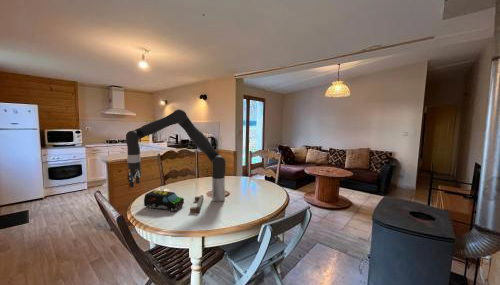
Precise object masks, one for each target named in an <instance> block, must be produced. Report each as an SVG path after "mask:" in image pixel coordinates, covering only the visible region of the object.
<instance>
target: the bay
mask: <svg viewBox="0 0 500 285" xmlns="http://www.w3.org/2000/svg"><path fill="white" fill-rule="evenodd" d="M195 201H198V202H197V204H196V206H193V207H192V206H190V208H189V213H190V214H200V213H201V209H202V205H203V203H204V195H203V194H201V195H200V196H194V202H195Z"/></svg>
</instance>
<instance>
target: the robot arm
mask: <svg viewBox="0 0 500 285" xmlns="http://www.w3.org/2000/svg"><path fill="white" fill-rule="evenodd" d="M176 124H178V125H179V126H180V128H182V130H184V131H185V133H186V134H187V136H188V137H189V139H190V140H191V141H192V143H193V144H194V145H195V146H196V147H197V148H198V149H199V150H200V151H201V152H202V153H203V154H204V155H205V156H206V157H207V158H208V160H209V161H210V163H211V164H212V173H211V176H212V177H211V182H212V183H211V186H212V188H211V189H212V190H211V192H212V193H211V194H212V195H211V200H212V201H213V202H215V203H217V202H219V203H221V202H225V201H226V200H225V199H226V194H225V193H226V182H225V180H226V167H227V166H226V158H224V157H223V156H222V155H221V154H220V153H218V151H216V149H214V147H213V145H212V144H211V142H210V141H209V139H208V137H207V136H205V134H204V133H203V132H202V131H201V130H200V129H199V128H198V127H197V126H196V125H195V124H194V123H193V122H192V120H191V119H190V118H189V116H188V115H187V112H186V111H185V110H183V109H181V108H180V109H179V108H178V109H176V110H174V111H173V112H172V113H170V114H168V115H166V116H165V117H162V118H160V119H157V120H154V121H152V122H149V123H147V124H144V125H142V126H141V127H138V128H136V129H133V130H129V131H127V133H126V134H125V142H126V147H127V158H126V159H127V169H128V170H130V171H128V172H127V182H129V188H130V189H131V188H135V184H136V185H137V184H140V183H141V182H140V178H141V177H142V162H141V148H140V145H139V140H141V139H143V138H145V137H148V136H150V135H151V136H152V134H153V135H154V134H155V133H157V132H160V131H162V130H164V129H165V128H168V127H171V126H173V125H176ZM134 181H135V182H134Z"/></svg>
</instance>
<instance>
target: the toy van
mask: <svg viewBox="0 0 500 285" xmlns="http://www.w3.org/2000/svg"><path fill="white" fill-rule="evenodd" d="M184 204H185V199H184V198H183V197H180V196H178V195H177V193H175V192H174V191H166V190H155V189H154V190H152V191H150V192H148V193H146V194H145V195H144V199H143V207H147V208H148V210H154V208H156V209H163V210H164V209H165V210H168V211H169V212H171V213H174V212H176V211H177V210H179V208H181V207H183V205H184Z"/></svg>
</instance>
